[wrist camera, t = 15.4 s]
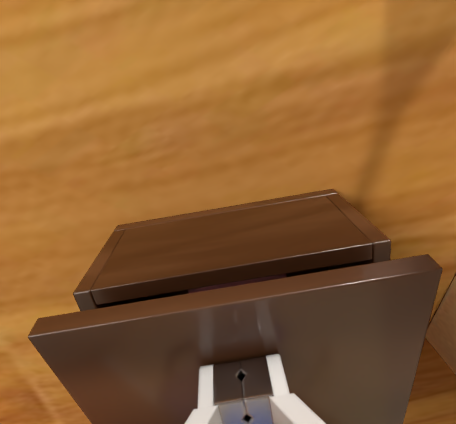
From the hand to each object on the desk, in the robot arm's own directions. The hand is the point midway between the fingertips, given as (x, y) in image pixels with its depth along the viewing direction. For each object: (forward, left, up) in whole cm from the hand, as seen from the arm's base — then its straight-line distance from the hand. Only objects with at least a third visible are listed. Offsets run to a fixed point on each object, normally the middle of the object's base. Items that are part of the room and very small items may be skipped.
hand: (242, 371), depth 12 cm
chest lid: (-3, +4, -2) cm, 5 cm away
